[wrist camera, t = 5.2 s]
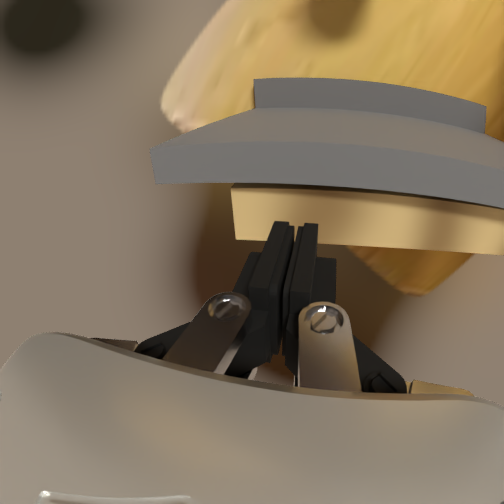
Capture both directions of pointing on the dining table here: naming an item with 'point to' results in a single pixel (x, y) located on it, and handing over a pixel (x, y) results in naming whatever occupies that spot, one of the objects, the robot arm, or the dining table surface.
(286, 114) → the board
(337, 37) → the dining table surface
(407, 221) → the picture frame
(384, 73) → the dining table surface
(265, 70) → the dining table surface
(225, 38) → the dining table surface
